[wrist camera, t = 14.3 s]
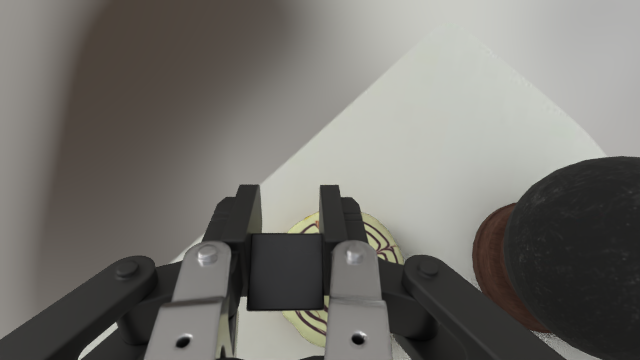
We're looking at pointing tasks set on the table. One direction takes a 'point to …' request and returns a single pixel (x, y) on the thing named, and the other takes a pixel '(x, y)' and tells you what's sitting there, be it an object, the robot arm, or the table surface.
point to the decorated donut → (315, 322)
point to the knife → (286, 272)
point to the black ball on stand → (570, 257)
